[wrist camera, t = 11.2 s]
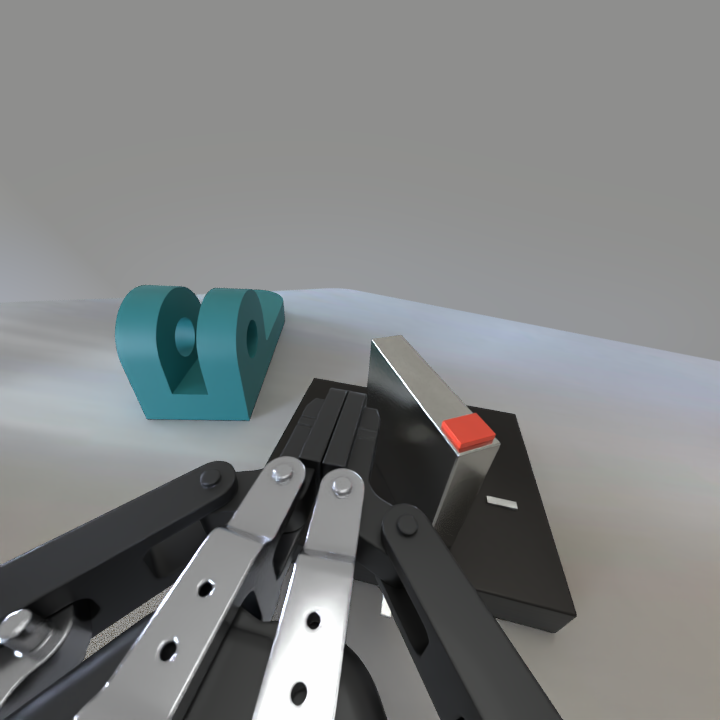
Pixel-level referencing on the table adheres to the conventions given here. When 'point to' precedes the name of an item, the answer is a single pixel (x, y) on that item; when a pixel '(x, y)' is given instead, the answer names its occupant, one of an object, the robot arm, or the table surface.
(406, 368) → the silver slab
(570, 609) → the panel
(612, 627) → the table surface
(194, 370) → the bracket
